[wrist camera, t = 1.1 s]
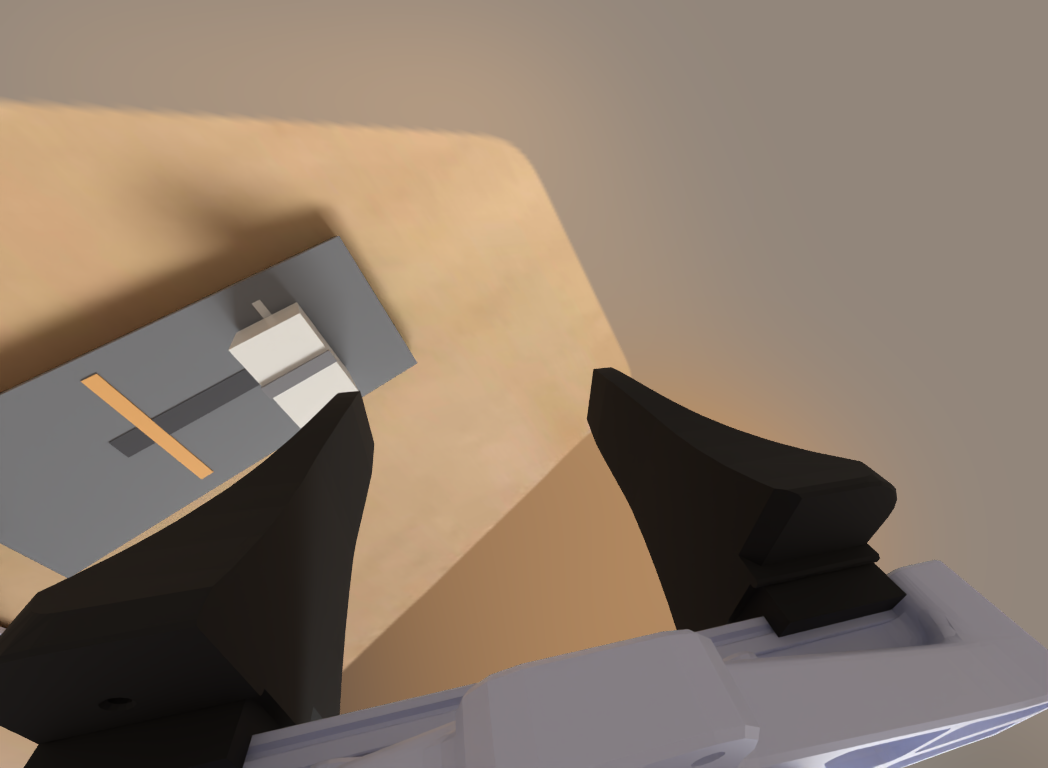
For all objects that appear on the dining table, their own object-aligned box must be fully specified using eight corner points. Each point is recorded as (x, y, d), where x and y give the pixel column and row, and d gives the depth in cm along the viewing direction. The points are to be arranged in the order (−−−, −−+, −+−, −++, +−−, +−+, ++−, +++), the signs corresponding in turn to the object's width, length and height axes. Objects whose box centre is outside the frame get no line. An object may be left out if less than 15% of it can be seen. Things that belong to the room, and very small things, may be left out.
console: (81, 556, 19) (67, 579, 18) (-116, 447, 15) (-152, 466, 14) (410, 357, 25) (417, 363, 23) (335, 236, 20) (339, 236, 19)
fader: (296, 402, 20) (299, 430, 17) (235, 333, 18) (226, 351, 15) (349, 371, 21) (361, 393, 18) (297, 301, 19) (301, 313, 16)
